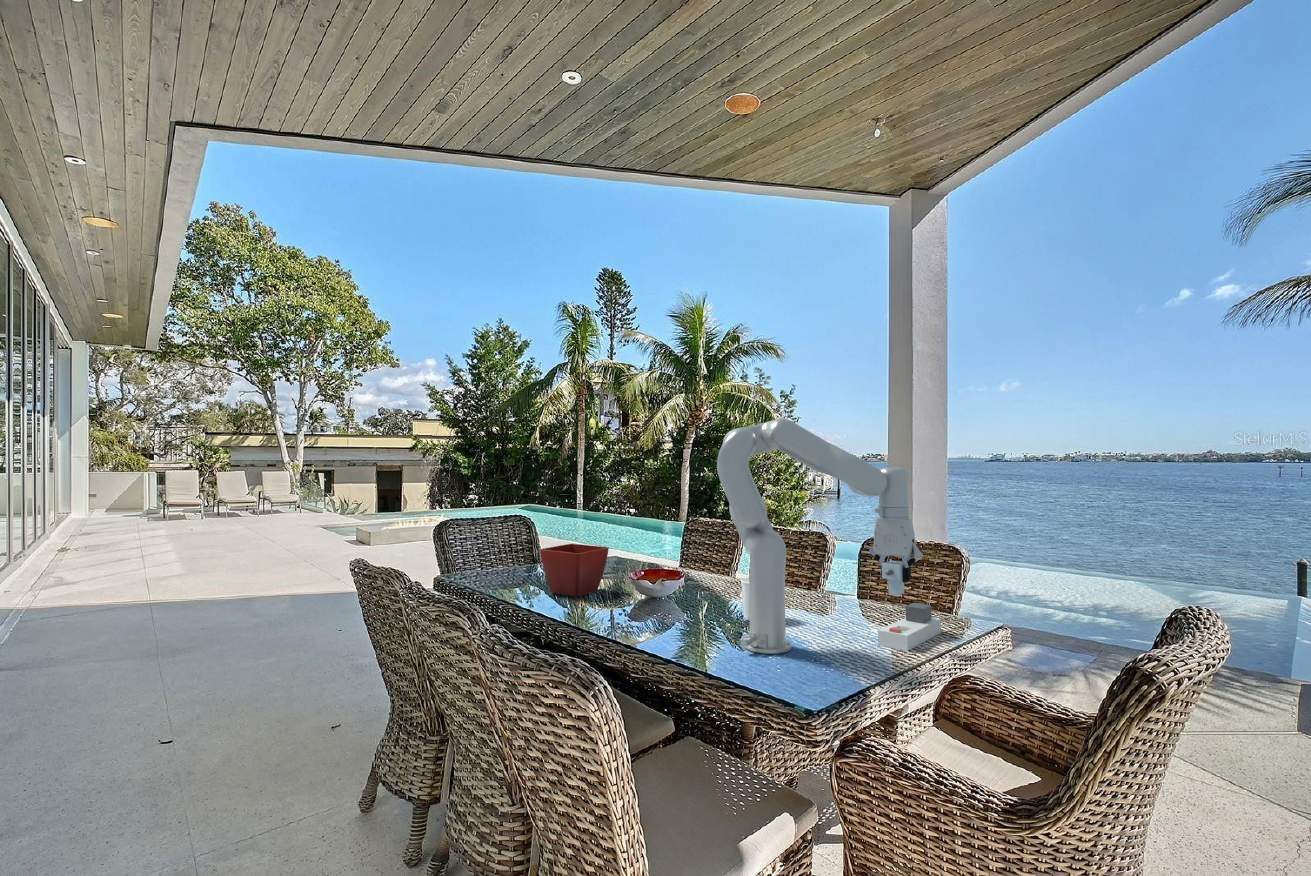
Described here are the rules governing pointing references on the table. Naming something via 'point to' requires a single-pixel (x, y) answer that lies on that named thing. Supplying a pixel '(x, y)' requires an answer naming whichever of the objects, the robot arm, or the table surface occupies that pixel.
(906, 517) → the robot arm
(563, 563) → the plant pot
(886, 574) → the grey plug
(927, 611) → the dark grey block
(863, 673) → the table surface
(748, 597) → the candle holder
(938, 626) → the power strip
